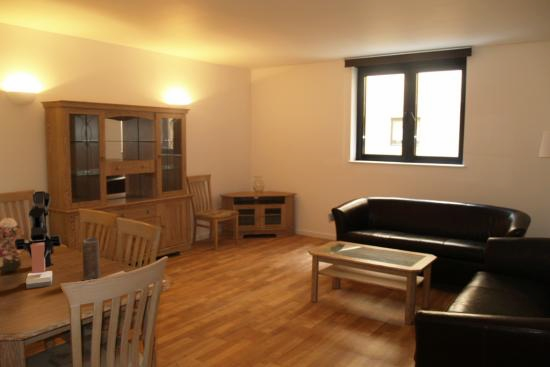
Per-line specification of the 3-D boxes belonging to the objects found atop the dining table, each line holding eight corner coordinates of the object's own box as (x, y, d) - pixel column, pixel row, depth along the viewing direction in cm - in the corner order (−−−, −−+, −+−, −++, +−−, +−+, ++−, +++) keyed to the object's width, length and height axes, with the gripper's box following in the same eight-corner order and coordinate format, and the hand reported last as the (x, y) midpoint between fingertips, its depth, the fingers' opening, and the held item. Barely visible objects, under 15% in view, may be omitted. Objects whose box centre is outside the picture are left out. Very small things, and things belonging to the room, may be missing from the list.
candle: (103, 278, 216) (101, 237, 214) (92, 283, 209) (90, 241, 207) (90, 277, 219) (88, 236, 216) (79, 281, 212) (77, 240, 209)
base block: (28, 281, 212) (28, 273, 212) (52, 278, 216) (52, 270, 215) (26, 288, 203) (26, 279, 202) (51, 285, 207) (50, 276, 206)
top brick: (33, 270, 210) (32, 243, 209) (45, 269, 212) (44, 242, 211) (32, 273, 206) (31, 245, 204) (44, 272, 207) (43, 244, 206)
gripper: (13, 221, 206) (12, 251, 197) (58, 218, 213) (59, 246, 205) (17, 235, 214) (15, 263, 205) (60, 231, 221) (61, 259, 213)
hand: (38, 258), depth 207 cm, fingers closed on top brick, 5 cm apart
